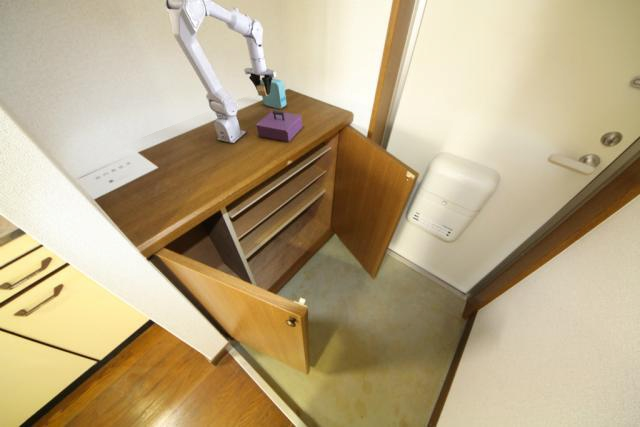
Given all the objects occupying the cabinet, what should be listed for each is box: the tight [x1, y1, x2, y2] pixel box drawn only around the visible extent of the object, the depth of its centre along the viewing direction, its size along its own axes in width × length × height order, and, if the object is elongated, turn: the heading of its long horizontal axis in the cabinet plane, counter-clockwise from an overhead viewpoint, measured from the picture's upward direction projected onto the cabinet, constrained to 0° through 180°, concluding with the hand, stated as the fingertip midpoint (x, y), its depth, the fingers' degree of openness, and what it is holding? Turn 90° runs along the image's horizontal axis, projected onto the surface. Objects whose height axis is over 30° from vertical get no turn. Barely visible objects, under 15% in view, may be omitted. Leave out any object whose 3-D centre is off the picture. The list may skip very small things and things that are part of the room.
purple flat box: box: [256, 117, 303, 143], centre depth 95 cm, size 13×14×5 cm
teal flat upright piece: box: [260, 77, 287, 110], centre depth 110 cm, size 12×4×12 cm, turn 59°
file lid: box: [255, 109, 303, 132], centre depth 91 cm, size 14×14×4 cm
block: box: [256, 83, 267, 97], centre depth 99 cm, size 4×4×4 cm
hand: (264, 93), depth 100 cm, fingers closed on block, 4 cm apart
